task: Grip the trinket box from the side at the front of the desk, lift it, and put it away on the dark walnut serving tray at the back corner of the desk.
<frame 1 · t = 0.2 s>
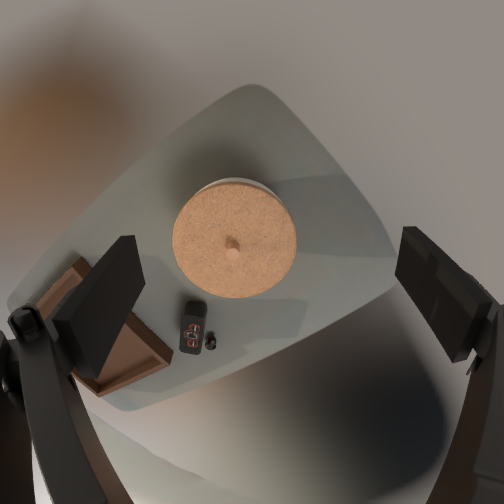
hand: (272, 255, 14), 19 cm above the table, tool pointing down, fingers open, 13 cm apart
tray: (91, 333, 40), on the table
trinket box: (237, 216, 33), on the table
wireless earbuds: (200, 324, 39), on the table
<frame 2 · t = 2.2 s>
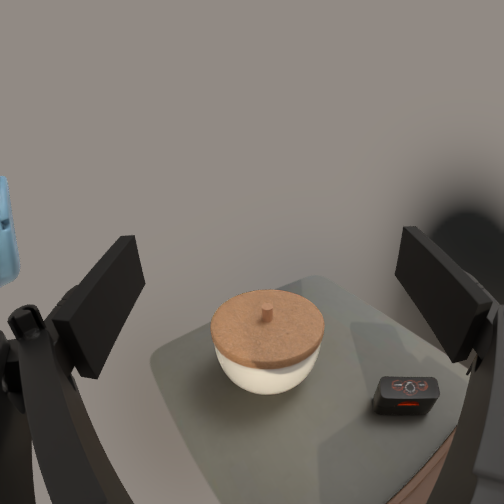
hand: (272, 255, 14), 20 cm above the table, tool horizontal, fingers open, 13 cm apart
trinket box: (267, 374, 32), on the table
wireless earbuds: (406, 402, 26), on the table
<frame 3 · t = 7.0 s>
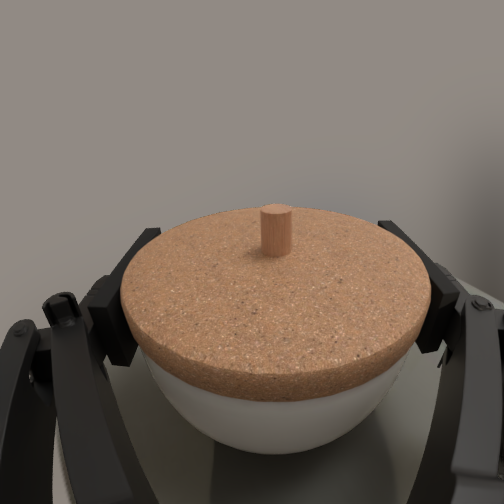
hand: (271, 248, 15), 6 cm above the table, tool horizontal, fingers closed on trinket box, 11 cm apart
trinket box: (275, 395, 14), on the table, touching gripper
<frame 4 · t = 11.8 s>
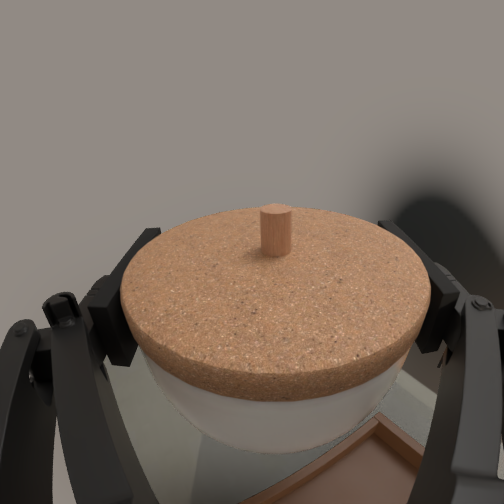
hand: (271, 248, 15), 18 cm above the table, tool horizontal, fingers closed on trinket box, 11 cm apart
trinket box: (275, 395, 14), point 12 cm above the table, touching gripper
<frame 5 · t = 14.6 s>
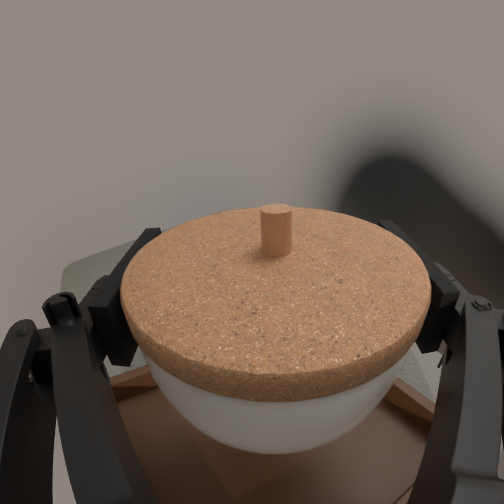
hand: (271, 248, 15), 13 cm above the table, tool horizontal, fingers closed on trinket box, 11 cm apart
tray: (272, 448, 17), on the table
trinket box: (275, 395, 14), point 6 cm above the table, touching gripper
when the fingers open (7 cm above the table, at t = 16.8 s): trinket box stays where it is, resting on tray.
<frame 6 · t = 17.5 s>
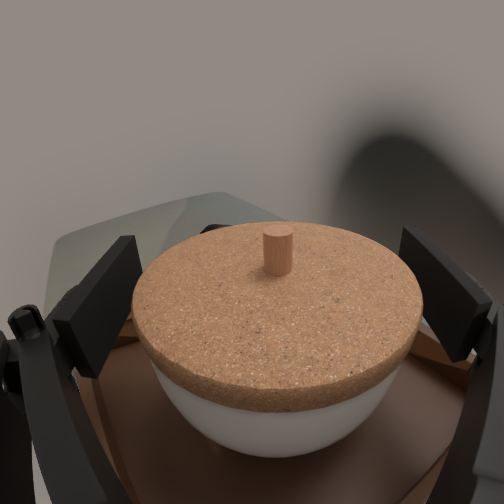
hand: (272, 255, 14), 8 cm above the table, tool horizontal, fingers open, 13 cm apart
tray: (275, 407, 15), on the table
trinket box: (276, 401, 15), point 1 cm above the table, touching tray
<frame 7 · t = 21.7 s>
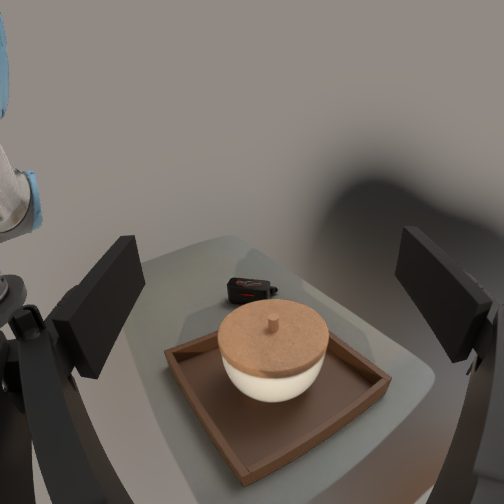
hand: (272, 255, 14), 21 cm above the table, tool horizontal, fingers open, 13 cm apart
tray: (272, 385, 32), on the table
trinket box: (273, 382, 32), point 1 cm above the table, touching tray
wireless earbuds: (255, 300, 48), on the table
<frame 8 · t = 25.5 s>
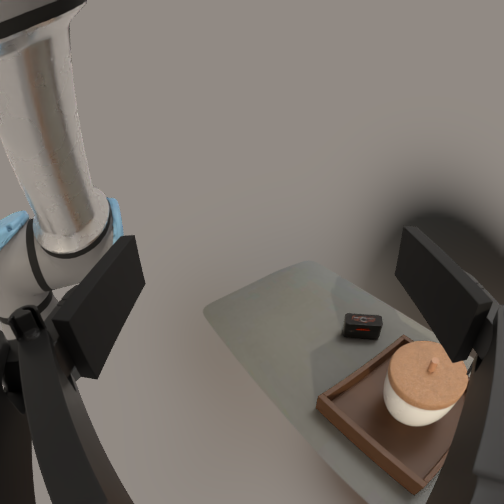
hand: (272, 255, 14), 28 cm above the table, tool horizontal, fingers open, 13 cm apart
tray: (408, 410, 33), on the table
trinket box: (410, 408, 32), point 1 cm above the table, touching tray
wireless earbuds: (364, 332, 48), on the table
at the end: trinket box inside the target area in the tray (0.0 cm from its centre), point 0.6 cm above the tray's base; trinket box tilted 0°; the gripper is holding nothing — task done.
